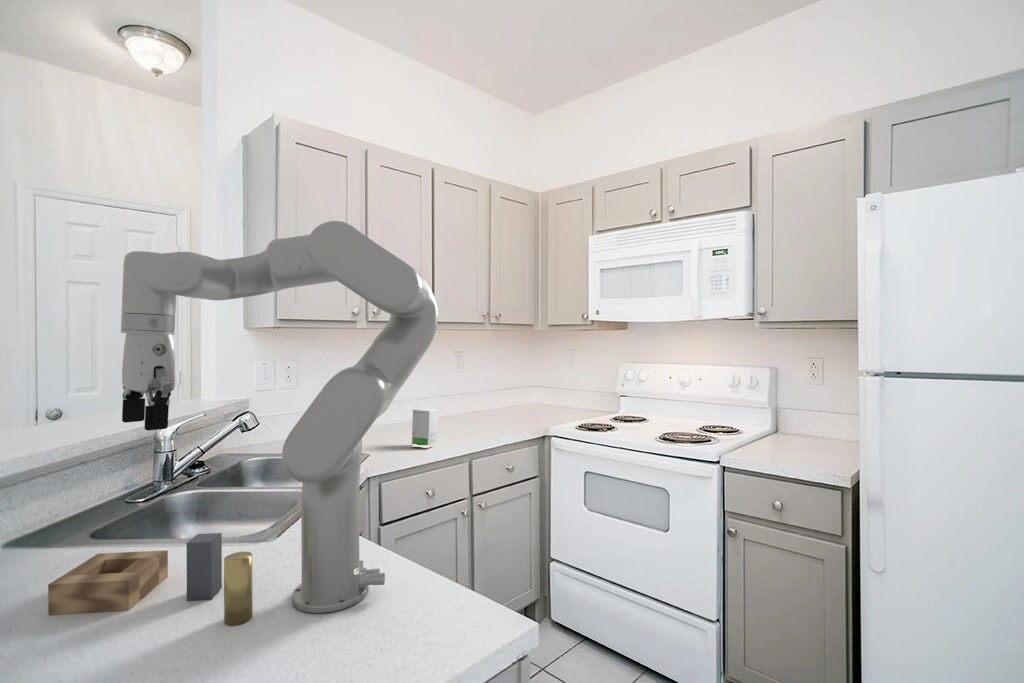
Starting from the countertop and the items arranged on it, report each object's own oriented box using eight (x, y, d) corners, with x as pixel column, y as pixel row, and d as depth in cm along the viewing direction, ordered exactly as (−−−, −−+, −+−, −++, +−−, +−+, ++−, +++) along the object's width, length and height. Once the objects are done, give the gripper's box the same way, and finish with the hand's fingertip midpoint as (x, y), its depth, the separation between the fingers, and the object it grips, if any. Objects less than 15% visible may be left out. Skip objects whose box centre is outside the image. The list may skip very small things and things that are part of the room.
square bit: (221, 588, 92) (221, 532, 92) (211, 599, 88) (211, 541, 88) (198, 589, 92) (197, 534, 92) (186, 601, 88) (186, 542, 88)
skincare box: (411, 447, 210) (411, 409, 210) (420, 444, 216) (420, 407, 216) (429, 449, 207) (429, 410, 207) (437, 446, 213) (437, 408, 213)
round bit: (256, 611, 85) (256, 550, 85) (246, 625, 81) (246, 561, 81) (230, 613, 84) (230, 552, 84) (219, 626, 80) (219, 562, 80)
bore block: (167, 576, 97) (167, 550, 97) (128, 610, 85) (128, 580, 85) (98, 580, 95) (97, 553, 95) (48, 615, 83) (48, 584, 83)
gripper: (195, 327, 86) (191, 430, 86) (153, 325, 96) (149, 416, 96) (143, 325, 80) (138, 435, 80) (103, 323, 90) (99, 421, 90)
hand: (144, 425), depth 88 cm, fingers open, 9 cm apart
